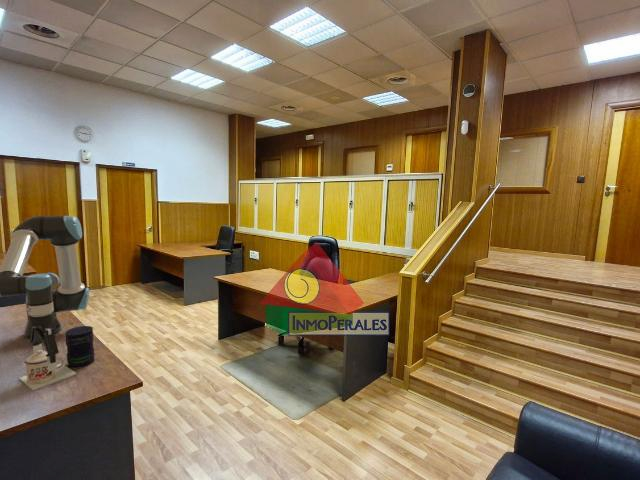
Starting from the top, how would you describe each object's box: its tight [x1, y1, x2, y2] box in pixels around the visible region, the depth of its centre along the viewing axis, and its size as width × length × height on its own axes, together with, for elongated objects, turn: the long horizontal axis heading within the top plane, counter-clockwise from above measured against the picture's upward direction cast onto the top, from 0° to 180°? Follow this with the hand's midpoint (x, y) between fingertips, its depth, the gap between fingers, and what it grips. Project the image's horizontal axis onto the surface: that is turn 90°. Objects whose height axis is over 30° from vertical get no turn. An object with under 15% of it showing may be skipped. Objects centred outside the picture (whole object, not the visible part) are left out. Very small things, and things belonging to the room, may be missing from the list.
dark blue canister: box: [65, 325, 96, 369], centre depth 143 cm, size 10×10×15 cm
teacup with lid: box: [24, 349, 66, 384], centre depth 130 cm, size 12×9×12 cm
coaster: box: [19, 362, 77, 391], centre depth 132 cm, size 14×14×1 cm
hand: (45, 365), depth 130 cm, fingers open, 13 cm apart
